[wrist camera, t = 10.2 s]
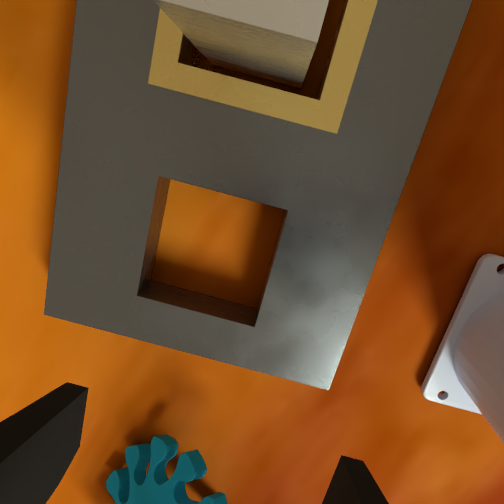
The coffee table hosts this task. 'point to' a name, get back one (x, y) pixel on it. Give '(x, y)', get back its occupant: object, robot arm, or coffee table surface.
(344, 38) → the hole plate
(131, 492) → the teal lobed piece
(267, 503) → the coffee table surface
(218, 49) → the steel peg
